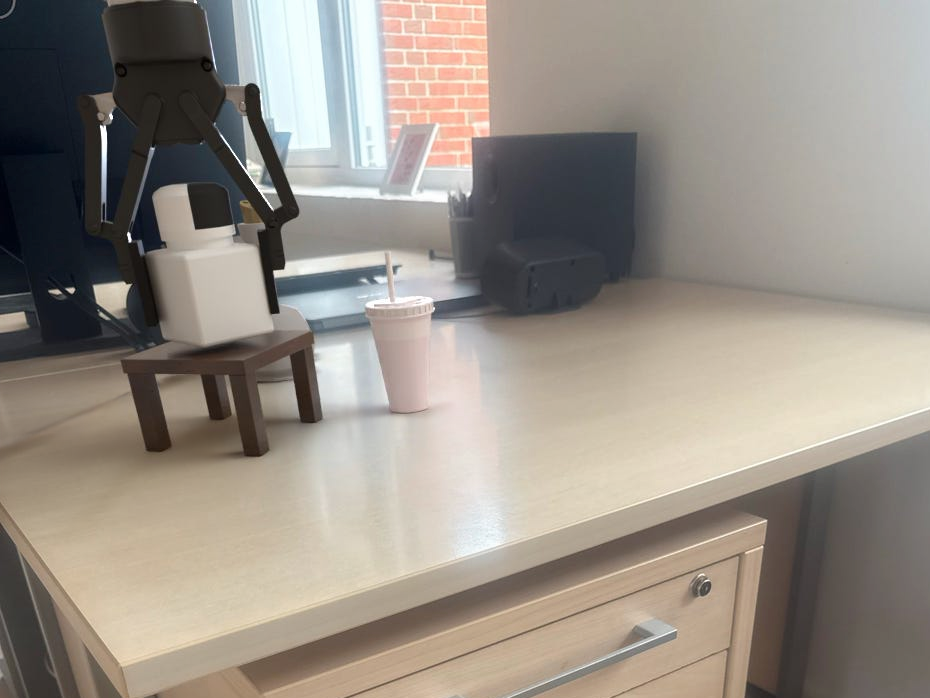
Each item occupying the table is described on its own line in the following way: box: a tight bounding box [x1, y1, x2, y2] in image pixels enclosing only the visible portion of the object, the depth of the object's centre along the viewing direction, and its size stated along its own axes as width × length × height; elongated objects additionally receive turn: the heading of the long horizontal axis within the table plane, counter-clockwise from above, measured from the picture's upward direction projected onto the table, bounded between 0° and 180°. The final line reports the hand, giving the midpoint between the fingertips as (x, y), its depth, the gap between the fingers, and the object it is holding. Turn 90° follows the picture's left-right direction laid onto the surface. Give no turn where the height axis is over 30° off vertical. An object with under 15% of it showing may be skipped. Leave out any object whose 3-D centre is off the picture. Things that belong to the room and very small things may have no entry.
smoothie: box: [364, 250, 436, 414], centre depth 84 cm, size 6×6×14 cm
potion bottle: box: [236, 199, 316, 383], centre depth 99 cm, size 9×9×18 cm
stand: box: [119, 329, 324, 457], centre depth 81 cm, size 12×12×8 cm
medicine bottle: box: [144, 181, 274, 348], centre depth 76 cm, size 7×7×12 cm
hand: (215, 317), depth 78 cm, fingers closed on medicine bottle, 10 cm apart
